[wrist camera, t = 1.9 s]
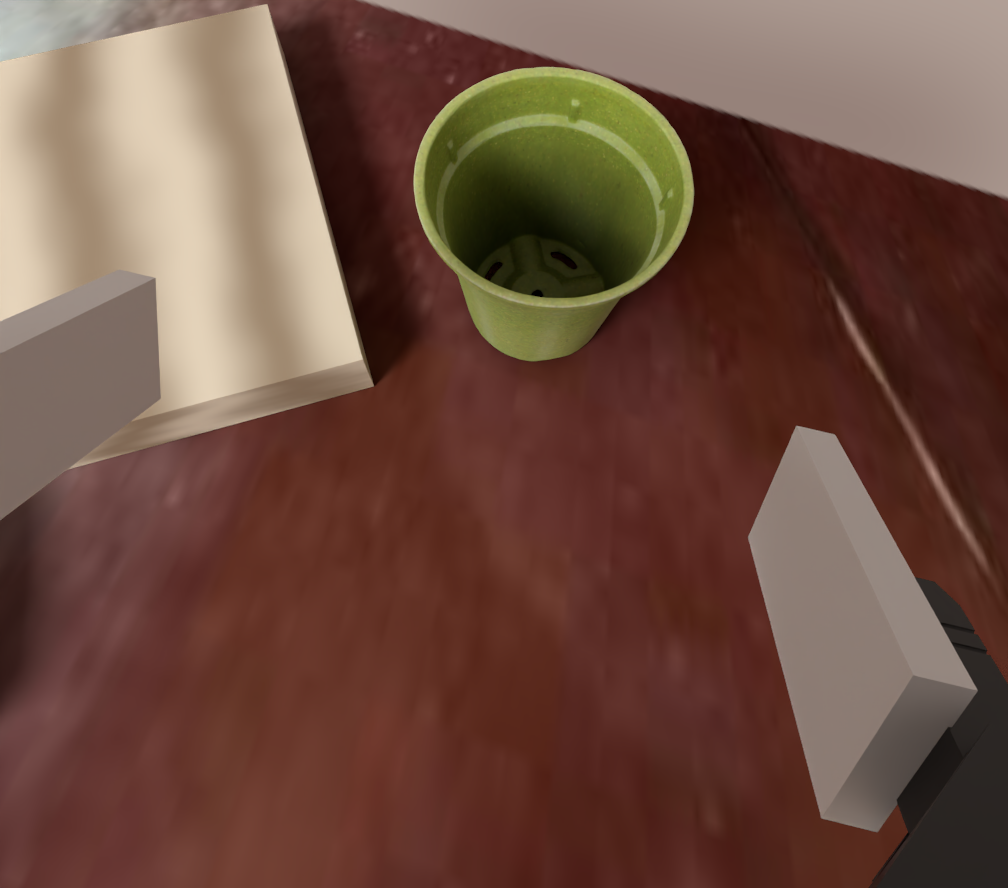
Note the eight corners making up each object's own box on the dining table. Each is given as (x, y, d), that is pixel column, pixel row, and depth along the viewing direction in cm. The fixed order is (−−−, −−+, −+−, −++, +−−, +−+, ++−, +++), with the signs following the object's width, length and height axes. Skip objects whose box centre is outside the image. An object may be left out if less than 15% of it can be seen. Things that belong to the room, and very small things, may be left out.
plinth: (284, 55, 36) (267, 4, 34) (374, 386, 32) (362, 359, 29) (-96, 140, 35) (-149, 93, 32) (-59, 504, 30) (-118, 487, 27)
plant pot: (501, 174, 35) (505, 23, 27) (678, 268, 34) (741, 141, 25) (391, 330, 33) (358, 219, 24) (578, 437, 31) (610, 358, 23)
